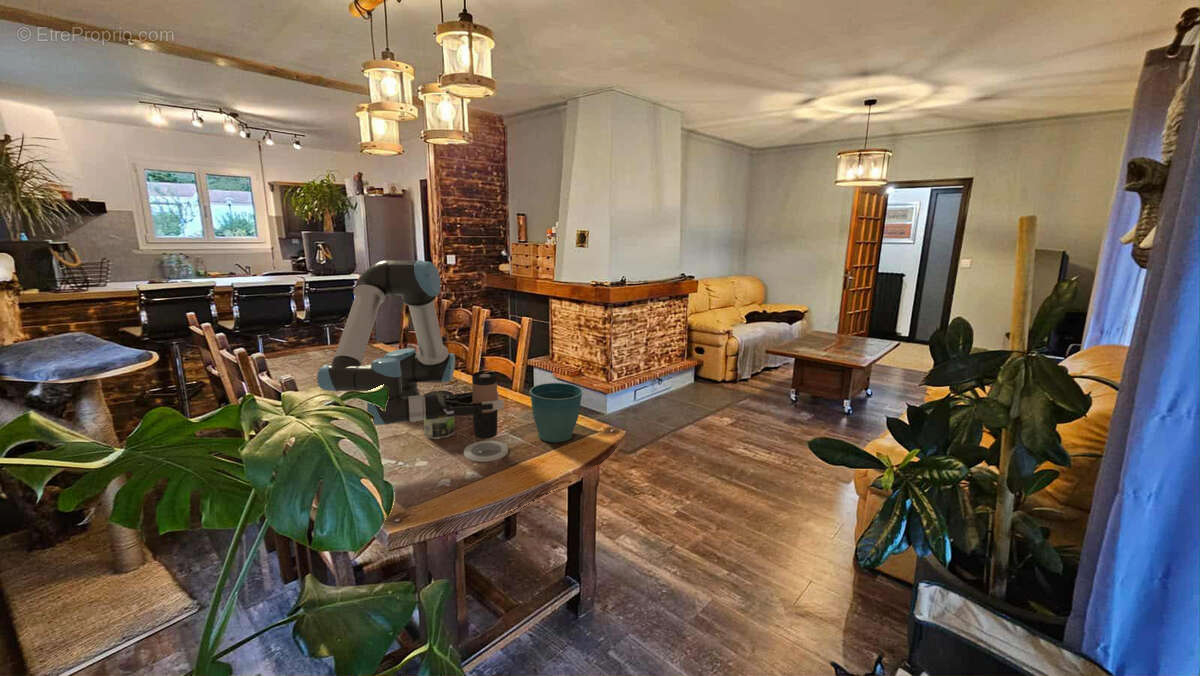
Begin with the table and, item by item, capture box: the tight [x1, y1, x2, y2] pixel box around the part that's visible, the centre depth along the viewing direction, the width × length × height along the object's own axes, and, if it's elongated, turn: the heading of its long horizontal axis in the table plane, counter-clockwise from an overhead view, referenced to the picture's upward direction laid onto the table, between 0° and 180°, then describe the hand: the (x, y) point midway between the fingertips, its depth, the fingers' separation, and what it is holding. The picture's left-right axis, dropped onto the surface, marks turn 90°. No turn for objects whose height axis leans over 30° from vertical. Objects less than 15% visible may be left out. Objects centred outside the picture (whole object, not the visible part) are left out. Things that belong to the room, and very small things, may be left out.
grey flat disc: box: [463, 440, 509, 463], centre depth 153 cm, size 14×14×1 cm
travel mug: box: [471, 370, 499, 440], centre depth 150 cm, size 8×8×20 cm
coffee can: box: [422, 390, 456, 440], centre depth 165 cm, size 10×10×14 cm
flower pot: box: [529, 382, 583, 443], centre depth 166 cm, size 18×18×17 cm
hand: (500, 400), depth 152 cm, fingers closed on travel mug, 7 cm apart
